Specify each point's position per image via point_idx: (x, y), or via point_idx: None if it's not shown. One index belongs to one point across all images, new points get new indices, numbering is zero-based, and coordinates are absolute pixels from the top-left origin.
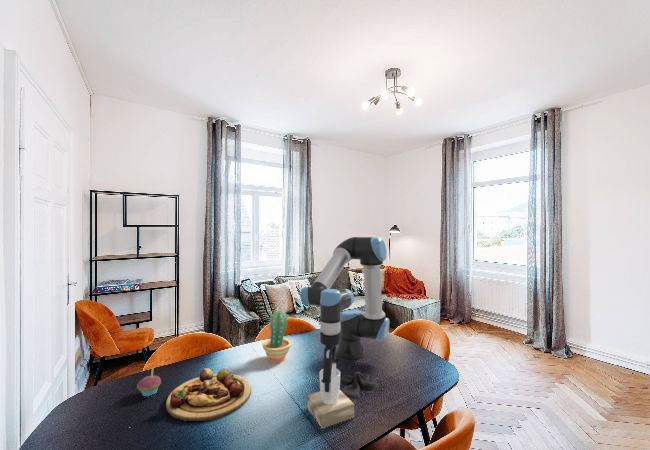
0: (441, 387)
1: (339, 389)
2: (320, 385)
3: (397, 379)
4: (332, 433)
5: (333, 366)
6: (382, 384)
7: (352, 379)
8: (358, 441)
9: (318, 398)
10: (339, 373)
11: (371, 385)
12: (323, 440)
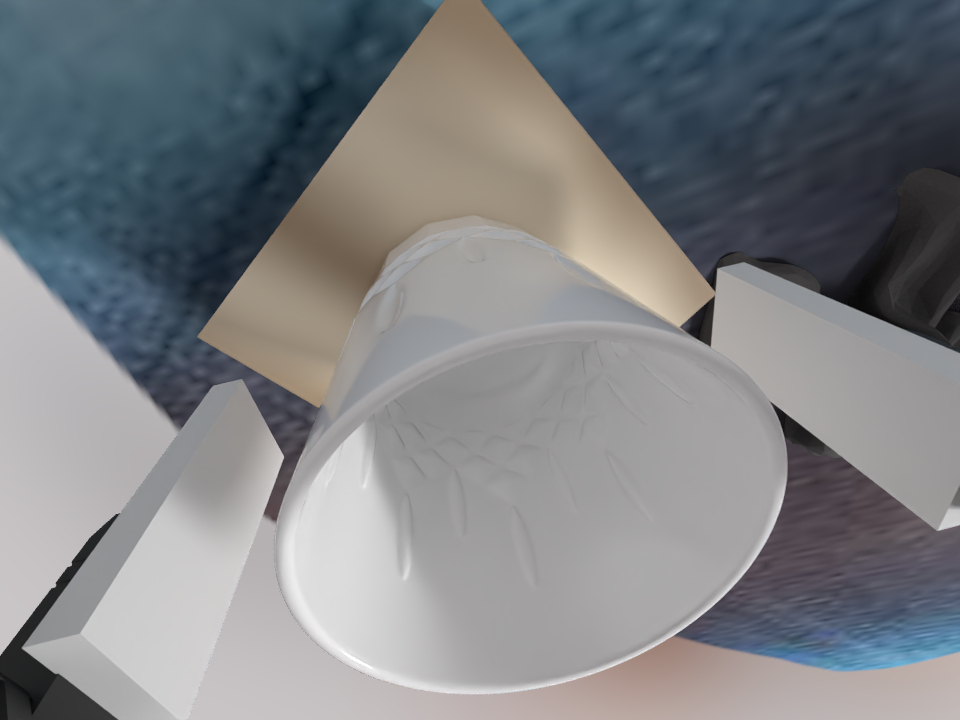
0: (804, 655)
1: (498, 473)
2: (373, 305)
3: (891, 520)
4: (250, 368)
5: (888, 447)
6: (845, 471)
7: (899, 324)
8: (278, 508)
9: (441, 185)
10: (604, 629)
11: (815, 449)
12: (143, 340)
